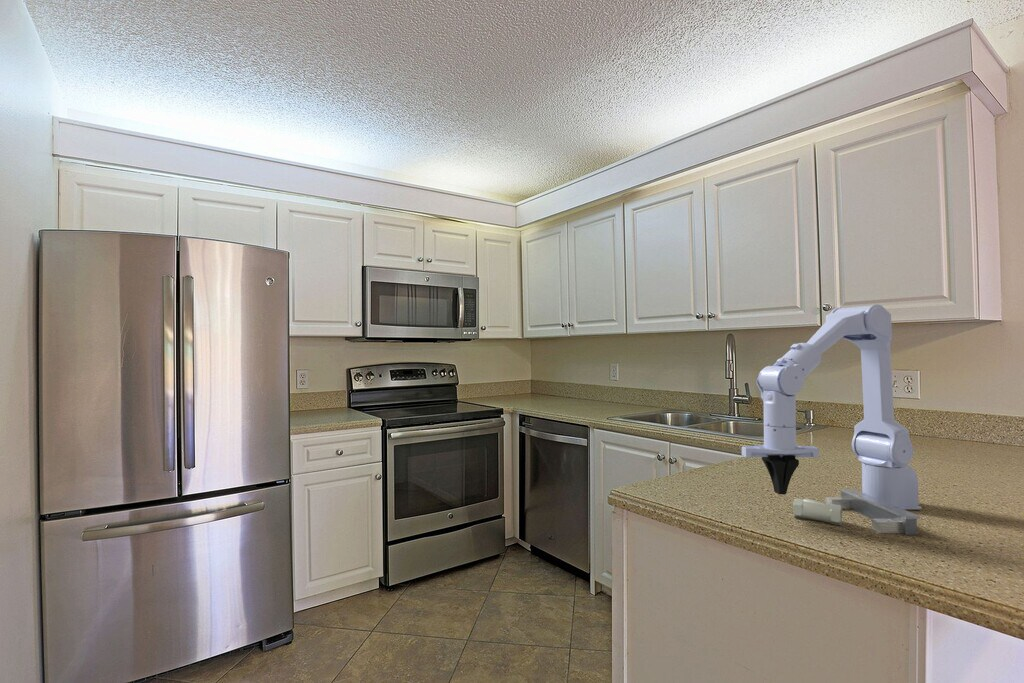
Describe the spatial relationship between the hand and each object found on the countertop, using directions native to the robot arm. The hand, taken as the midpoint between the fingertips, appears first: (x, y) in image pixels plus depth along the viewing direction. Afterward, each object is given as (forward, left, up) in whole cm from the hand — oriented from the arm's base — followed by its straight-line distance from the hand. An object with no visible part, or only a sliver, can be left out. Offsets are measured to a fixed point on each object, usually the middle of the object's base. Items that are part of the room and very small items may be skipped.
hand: (780, 493), depth 100 cm
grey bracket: (-17, 0, -5) cm, 18 cm away
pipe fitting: (-8, 0, -6) cm, 10 cm away
